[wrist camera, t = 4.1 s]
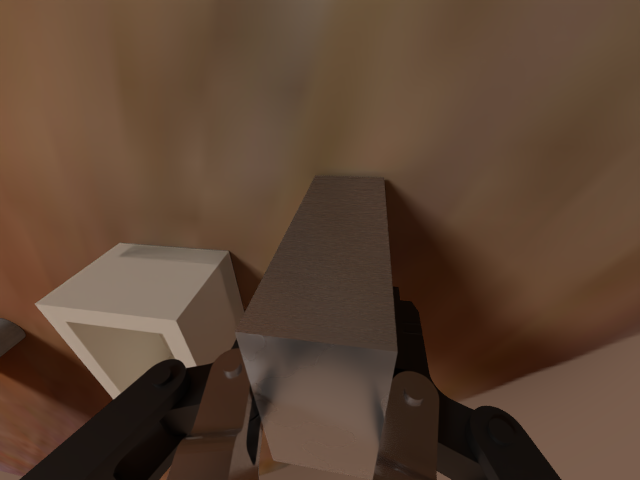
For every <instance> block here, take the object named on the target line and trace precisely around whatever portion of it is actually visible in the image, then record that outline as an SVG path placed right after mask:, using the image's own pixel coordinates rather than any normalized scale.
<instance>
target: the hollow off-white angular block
mask: <svg viewBox="0 0 640 480" xmlns="http://www.w3.org/2000/svg"><path fill="white" fill-rule="evenodd" d="M35 305H36V306H37V307H38V309H39V310H40V311H41V312H42V313H43V315H44V316H45V317H46V318H47V319H48V321H49V322H50V323H51V324H52V326H53V327H54V328H55V329H56V330H57V332H58V333H59V334H60V335H61V336H62V338H63V339H64V340H65V341H66V343H67V344H68V345H69V346H70V347H71V349H72V350H73V351H74V352H75V353H76V355H77V356H78V357H79V358H80V359H81V361H82V362H83V363H84V364H85V366H86V367H87V368H88V369H89V370H90V372H91V373H92V374H93V375H94V376H95V378H96V379H97V380H98V381H99V383H100V384H101V385H102V386H103V387H104V389H105V390H106V391H107V392H108V393H109V395H110V396H111V397H112V398H113V399H115V398H116V397H117V396H118V395H119V394H121V393H122V392H123V391H124V390H125V389H127V388H128V387H129V386H130V385H131V384H132V383H134V382H135V381H136V380H137V379H138V378H139V377H141V376H142V375H143V374H144V373H145V372H146V371H148V370H149V369H150V368H151V367H153V366H154V365H156V364H157V363H159V362H161V361H164V360H168V359H177V360H180V361H182V362H183V363H184V365H185V367H186V368H189V367H195V366H200V365H206V364H210V363H213V362H214V361H215V360H216V359H217V358H218V357H219V356H220V355H221V354H222V353H224V352H226V351H228V350H230V349H231V348H232V346H233V344H234V342H235V340H236V335H235V330H236V328H237V326H238V325H239V323H240V321H241V319H242V317H243V315H244V309H243V305H242V301H241V297H240V293H239V289H238V285H237V281H236V277H235V273H234V269H233V265H232V262H231V258H230V254H229V251H220V250H206V249H193V248H179V247H166V246H152V245H139V244H125V243H119V244H118V245H116V246H115V247H113V248H112V249H111V250H109V251H108V252H106V253H105V254H104V255H102V256H101V257H99V258H98V259H97V260H95V261H94V262H92V263H91V264H90V265H88V266H87V267H86V268H84V269H83V270H81V271H80V272H79V273H77V274H76V275H74V276H73V277H72V278H70V279H69V280H67V281H66V282H65V283H63V284H62V285H60V286H59V287H58V288H56V289H55V290H53V291H52V292H51V293H49V294H48V295H46V296H45V297H44V298H42V299H41V300H39V301H38V302H37V303H35Z"/></svg>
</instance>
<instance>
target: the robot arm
mask: <svg viewBox="0 0 640 480" xmlns="http://www.w3.org/2000/svg"><path fill="white" fill-rule="evenodd" d="M393 299H394V312H395V325H396V338H397V351H398V353H397V358H396V363H395V368H394V373H393V378H392V383H391V388H390V393H389V398H388V403H387V408H386V412H385V417H384V422H383V428H382V433H381V438H380V444H379V448H378V453H377V458H376V463H375V469H374V474H373V479H372V480H437V477H436V476H437V475H436V473H437V472H436V471H438V472H440V473H441V474H443V475H445V476H447V477H448V478H450V479H451V480H561V479H560V477H559V476H558V475H557V473H556V472H555V470H554V469H553V468H552V467H551V465H550V464H549V462H548V461H547V460H546V459H545V457H544V456H543V455H542V453H541V452H540V450H539V449H538V448H537V446H536V445H535V444H534V442H533V441H532V440H531V438H530V437H529V436H528V434H527V433H526V432H525V430H524V429H523V428H522V426H521V425H520V424H519V423H518V422H517V421H516V420H515V419H514V418H513V417H512V416H510V415H509V414H508V413H506V412H505V411H503V410H501V409H499V408H496V407H492V406H481V407H478V408H477V409H475V410H473V409H471V408H468V407H466V406H464V405H462V404H460V403H458V402H455V401H453V400H451V399H450V398H448V397H447V396H445V395H444V394H443V393H441V392H440V391H439V390H438V388H437V387H436V386H435V385H434V383H433V381H432V379H431V377H430V374H429V369H428V363H427V357H426V352H425V346H424V340H423V336H422V328H421V323H420V317H419V312H418V310H417V309H416V307H415V306H414V305H413V303H412V302H411V301H401V300H400V296H399V288H398V287H393ZM262 431H263V424H262V421H261V418H260V415H259V411H258V408H257V405H256V401H255V398H254V395H253V391H252V388H251V385H250V381H249V378H248V375H247V371H246V368H245V365H244V361H243V358H242V355H241V351H240V348H239V345H238V341H237V338H236V340H235V342H234V344H233V346H232V348H231V349H230V350H228V351H226V352H224V353H222V354H221V355H220V356H219V357H218V358H217V359H216V360H215V361H214V362H213V363H210V364H206V365H200V366H195V367H189V368H186V367H185V365H184V363H183V362H182V361H180V360H177V359H168V360H164V361H161V362H159V363H157V364H156V365H154V366H153V367H151V368H150V369H149V370H148V371H146V372H145V373H144V374H143V375H142V376H141V377H139V378H138V379H137V380H136V381H135V382H134V383H132V384H131V385H130V386H129V387H128V388H127V389H125V390H124V391H123V392H122V393H121V394H119V395H118V396H117V397H116V398H115V399H114V400H112V401H111V402H110V403H109V404H108V405H107V406H105V407H104V408H103V409H102V410H101V411H100V412H98V413H97V414H96V415H95V416H94V417H92V418H91V419H90V420H89V421H88V422H87V423H85V424H84V425H83V426H82V427H81V428H80V429H78V430H77V431H76V432H75V433H74V434H73V435H71V436H70V437H69V438H68V439H67V440H65V441H64V442H63V443H62V444H61V445H60V446H58V447H57V448H56V449H55V450H54V451H53V452H51V453H50V454H49V455H48V456H47V457H46V458H44V459H43V460H42V461H41V462H40V463H39V464H37V465H36V466H35V467H34V468H33V469H31V470H30V471H29V472H28V473H27V474H26V475H24V476H23V477H22V478H21V479H20V480H159V479H160V478H161V477H162V476H163V474H164V473H165V472H166V471H167V470H168V468H169V467H170V466H171V468H170V471H169V474H168V477H167V480H259V474H258V471H259V458H260V449H261V440H262Z"/></svg>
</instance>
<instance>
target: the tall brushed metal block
mask: <svg viewBox="0 0 640 480" xmlns="http://www.w3.org/2000/svg"><path fill="white" fill-rule="evenodd" d="M235 335H236V338H237V341H238V345H239V348H240V351H241V355H242V358H243V361H244V365H245V368H246V371H247V375H248V378H249V381H250V385H251V388H252V391H253V395H254V398H255V401H256V405H257V408H258V411H259V415H260V418H261V421H262V424H263V428H264V431H265V434H266V438H267V441H268V444H269V448H270V451H271V454H272V458H273V460H274V461H279V462H284V463H289V464H294V465H299V466H305V467H310V468H315V469H320V470H325V471H330V472H335V473H340V474H345V475H350V476H356V477H361V478H366V479H371V480H372V479H373V474H374V469H375V463H376V458H377V453H378V448H379V444H380V438H381V433H382V428H383V422H384V417H385V412H386V408H387V403H388V398H389V393H390V388H391V383H392V378H393V373H394V368H395V363H396V358H397V353H398V351H397V338H396V325H395V312H394V299H393V287H392V274H391V261H390V248H389V235H388V223H387V210H386V197H385V184H384V178H383V177H348V176H315V177H314V179H313V181H312V183H311V185H310V187H309V189H308V191H307V193H306V195H305V197H304V199H303V200H302V202H301V204H300V206H299V208H298V210H297V212H296V214H295V216H294V218H293V220H292V222H291V224H290V226H289V228H288V230H287V231H286V233H285V235H284V237H283V239H282V241H281V243H280V245H279V247H278V249H277V251H276V253H275V255H274V257H273V259H272V261H271V262H270V264H269V266H268V268H267V270H266V272H265V274H264V276H263V278H262V280H261V282H260V284H259V286H258V288H257V290H256V292H255V293H254V295H253V297H252V299H251V301H250V303H249V305H248V307H247V309H246V311H245V313H244V315H243V317H242V319H241V321H240V323H239V325H238V326H237V328H236V330H235Z"/></svg>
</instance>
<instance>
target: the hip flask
mask: <svg viewBox="0 0 640 480" xmlns="http://www.w3.org/2000/svg"><path fill="white" fill-rule="evenodd" d="M25 336H26V335H25V332H24V331H23V330H22V329H21V328H20V327H19V326H17V325H16V324H14V323H13V322H11V321H8V320H6V319H2V318H0V357H1V356H2V355H3V354H5V353H6V352H7V351H8V350H10V349H11V348H12V347H13V346H15V345H16V344H17V343H18V342H20V341H21V340H22V339H23V338H25Z"/></svg>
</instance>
